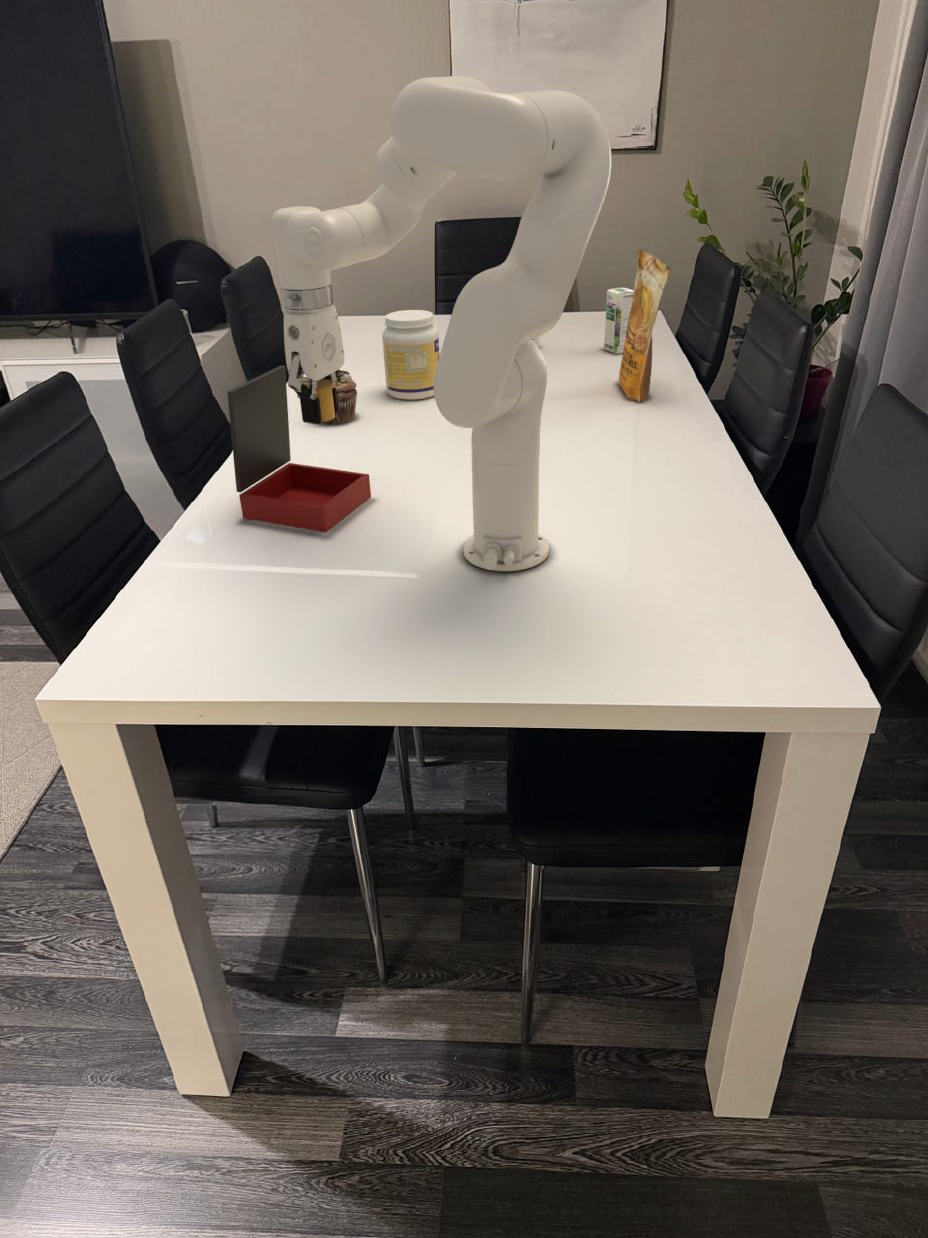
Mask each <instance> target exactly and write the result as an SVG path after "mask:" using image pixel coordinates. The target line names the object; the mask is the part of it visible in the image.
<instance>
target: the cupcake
mask: <svg viewBox="0 0 928 1238" xmlns="http://www.w3.org/2000/svg"><path fill="white" fill-rule="evenodd" d="M334 388H336V392H337V402H338V412H337V413H335V418H333V419H332V420H329V421H325V422H321V423H320V424H323V425H333V426H335V425H341V424H342V425H343V424H345V423H350V422H351V421H353V420H355V417H356V409H357V408H356V407H357V397H358V391H357V383H356V382H355V380H354V379H353V378H352V376H351V375H350V372H349V371H346V370H341V369H338V374H337V387H334Z"/></svg>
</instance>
